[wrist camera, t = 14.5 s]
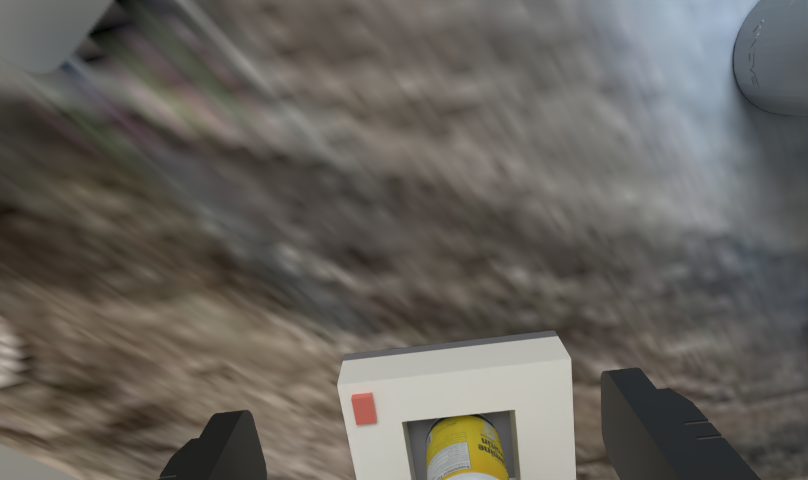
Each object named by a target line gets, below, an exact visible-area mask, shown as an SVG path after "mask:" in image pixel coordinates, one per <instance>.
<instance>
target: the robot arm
mask: <svg viewBox="0 0 808 480" xmlns="http://www.w3.org/2000/svg"><path fill="white" fill-rule="evenodd" d="M734 72H735V75H736V79H737V83H738V85H739V87H740V89H741V90H742V92H743V94H744V95H745V96H746V97H747V98H748V99H749V100H750V102H751V103H752V104H754V105H756V106H757V107H759V108H760V109H762V110H764V111H768V112H771V113H774V114H783V115H794V116H805V117H808V0H760V1H759V2H758V3H757V4H756V6H755V7H754V8H753V9H752V10H751V12H750V13H749V15H748V16H747V18H746V20H745V22H744V23H743V25H742V27H741V29H740V32H739V35H738V38H737V40H736V45H735V51H734ZM601 418H602V435H603V441H604V445H605V449H606V452H607V454H608V457H609V459H610V461H611V463H612V465H613V467H614V469H615V471H616V473H617V475H618V476H619V478H620V480H761V479H760V478H759V477H758V476H757V475H756V474H755V473H754V471H753V470H752V469H751V468H750V467H749V466H748V465H747V464H746V462H745V461H744V460H743V459H742V458H741V457H740V456H739V454H738V453H737V452H736V451H735V450H734V449H733V448H732V447H731V445H730V444H729V443H728V442H727V441H726V440H725V439H724V438H722V437H721V434H720V433H719V432H718V431H717V430H716V428H715V427H714V426H713V425H712V424H711V423H708V419H707V418H706V417H705V416H704V415H703V414H702V412H701V411H700V410H699V409H698V408H697V407H696V406H695V405H694V403H693V402H691V401H690V400H688V399H686V398H685V397H683V396H681V395H680V394H678V393H676V392H675V391H673V390H671V389H670V388H666V389H656V388H655V386H654V385H653V384H652V383H651V381H650V380H649V379H648V378H647V376H646V375H645V374H644V373H643V371H642V370H641V369H639V368H629V369H620V370H611V371H603V372H602V374H601ZM158 480H267V471H266V464H265V460H264V456H263V452H262V449H261V445H260V441H259V438H258V434H257V430H256V427H255V423H254V419H253V416H252V414H251V413H250V411H248V410H242V411H233V412H224V413H216V414H214V415H213V416H212V417H211V419H210V420H209V422H208V424H207V425H206V427H205V429H204V430H203V432H202V434H201V435H200V437H199V438H196V439H191V440H190V441H189V442H187V443H186V444H185V445H184V446H183V447H182V448H181V449H180V450H179V451H177V452H176V453H175V454H174V455H173V456H172V457H171V459H170V460H169V462H168V463H167V465H166V467H165V468H164V470H163V471H162V473H161V474H160V479H158Z"/></svg>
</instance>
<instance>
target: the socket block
mask: <svg viewBox="0 0 808 480" xmlns="http://www.w3.org/2000/svg"><path fill="white" fill-rule="evenodd" d="M337 387H338V391H339V396H340V401H341V406H342V411H343V416H344V420H345V425H346V430H347V435H348V440H349V444H350V449H351V454H352V459H353V464H354V469H355V473H356V478H357V480H427V462H426V437H427V433H428V430H429V428H430V426H431V425H432V424H433V422H434V421H435V420H436V419H438V418H442V417H452V416H461V415H470V414H479V413H480V414H482V415H484V416H485V417H487V418H488V419H489V420H490V421H491V422H492V423H493V425H494V426H495V428H496V430H497V432H498V435H499V439H500V443H501V447H502V451H503V455H504V459H505V463H506V468H507V472H508V476H509V480H576V467H575V443H574V419H573V395H572V371H571V358H570V356H569V354H568V353H567V351H566V349H565V348H564V346H563V344H562V342H561V341H560V339H559V337H558V335H557V334H556V332H555V330H553V331H544V332H536V333H527V334H519V335H510V336H501V337H493V338H484V339H476V340H467V341H458V342H450V343H441V344H433V345H424V346H415V347H407V348H398V349H390V350H381V351H372V352H364V353H355V354H347V355H344V359H343V363H342V367H341V372H340V376H339V380H338V384H337Z"/></svg>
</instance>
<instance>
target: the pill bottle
mask: <svg viewBox="0 0 808 480" xmlns="http://www.w3.org/2000/svg"><path fill="white" fill-rule="evenodd" d="M426 462H427V480H509V476H508V472H507V468H506V463H505V459H504V455H503V451H502V447H501V443H500V439H499V435H498V432H497V430H496V428H495V426H494V425H493V423H492V422H491V421H490V420H489V419H488V418H487V417H485V416H484V415H482V414H480V413H479V414H470V415H461V416H452V417H442V418H438V419H436V420H435V421H434V422H433V424H432V425H431V426H430V428H429V430H428V433H427V437H426Z"/></svg>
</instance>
